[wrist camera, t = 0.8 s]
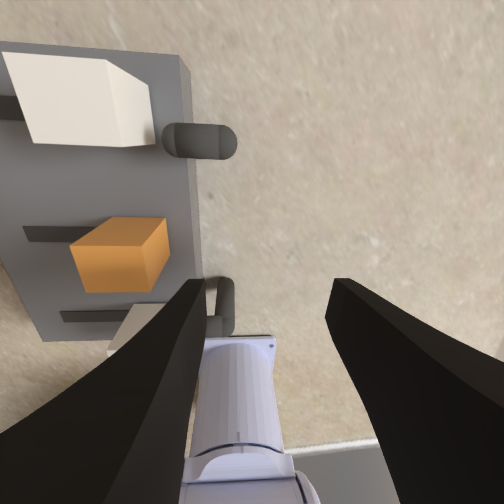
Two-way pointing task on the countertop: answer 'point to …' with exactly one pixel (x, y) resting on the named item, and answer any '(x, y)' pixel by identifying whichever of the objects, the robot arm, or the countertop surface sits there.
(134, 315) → the switch knob
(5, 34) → the countertop surface
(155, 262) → the switch knob orange
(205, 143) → the dark grey handle
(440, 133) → the countertop surface
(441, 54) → the countertop surface
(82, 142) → the switch knob
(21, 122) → the strip
